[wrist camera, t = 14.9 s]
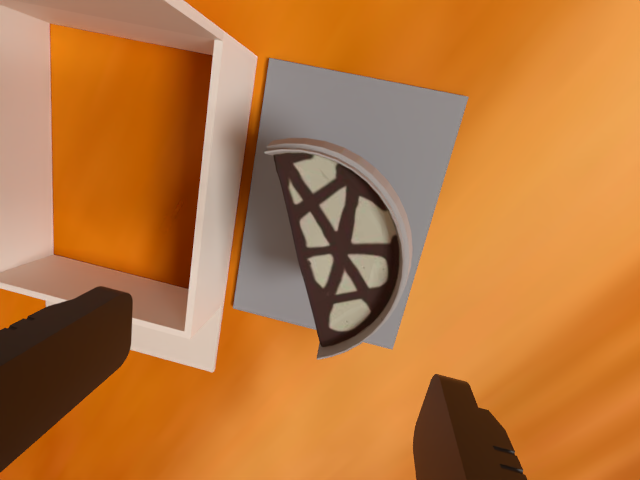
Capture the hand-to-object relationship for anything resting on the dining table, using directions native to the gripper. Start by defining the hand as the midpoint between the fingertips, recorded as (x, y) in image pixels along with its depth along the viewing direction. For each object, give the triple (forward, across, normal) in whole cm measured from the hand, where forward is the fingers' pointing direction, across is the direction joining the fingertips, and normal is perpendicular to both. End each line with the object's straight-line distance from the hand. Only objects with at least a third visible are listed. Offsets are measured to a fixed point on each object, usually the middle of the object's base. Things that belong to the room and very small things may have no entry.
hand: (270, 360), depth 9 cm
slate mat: (+19, 0, 0) cm, 19 cm away
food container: (+19, -1, 0) cm, 19 cm away
